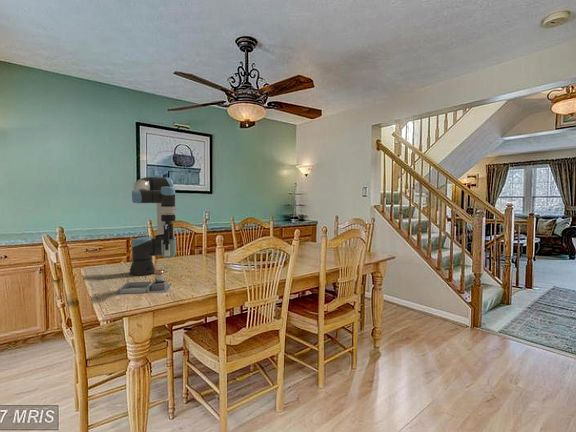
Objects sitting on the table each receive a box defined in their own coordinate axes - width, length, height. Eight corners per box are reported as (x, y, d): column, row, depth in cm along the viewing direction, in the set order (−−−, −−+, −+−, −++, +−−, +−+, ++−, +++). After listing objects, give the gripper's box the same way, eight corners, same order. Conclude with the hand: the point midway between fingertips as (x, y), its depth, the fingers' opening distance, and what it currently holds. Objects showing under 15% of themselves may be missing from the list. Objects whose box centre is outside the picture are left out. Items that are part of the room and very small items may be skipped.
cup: (179, 257, 181) (179, 239, 180) (167, 259, 174) (167, 241, 173) (169, 255, 184) (169, 238, 184) (158, 257, 178) (158, 240, 177)
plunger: (155, 281, 169) (155, 270, 168) (165, 280, 169) (164, 269, 169) (153, 283, 164) (153, 272, 163) (163, 283, 165) (162, 271, 164)
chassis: (128, 288, 172) (127, 279, 172) (172, 286, 176) (172, 278, 175) (117, 297, 156) (116, 287, 156) (166, 295, 160) (165, 286, 159)
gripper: (171, 215, 168) (172, 257, 169) (178, 213, 188) (178, 251, 190) (156, 215, 167) (157, 258, 168) (165, 213, 187) (165, 251, 189)
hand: (168, 254), depth 179 cm, fingers closed on cup, 8 cm apart
